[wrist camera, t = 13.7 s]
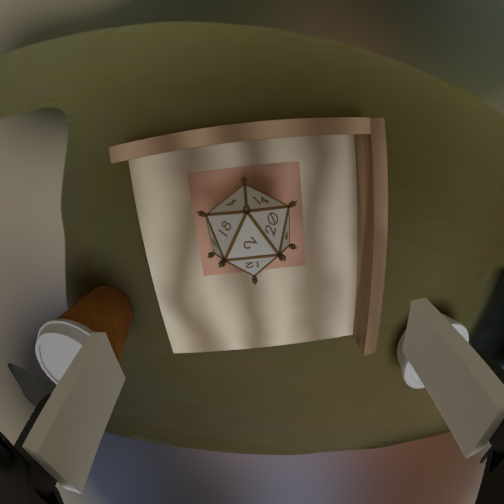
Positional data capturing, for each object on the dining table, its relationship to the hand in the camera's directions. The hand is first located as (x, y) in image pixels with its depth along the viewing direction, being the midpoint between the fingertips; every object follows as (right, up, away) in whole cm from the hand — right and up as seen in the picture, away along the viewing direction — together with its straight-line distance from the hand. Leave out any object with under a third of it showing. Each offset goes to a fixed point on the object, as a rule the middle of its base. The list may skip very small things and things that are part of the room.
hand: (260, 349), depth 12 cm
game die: (-1, +7, +19) cm, 20 cm away
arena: (0, +4, +20) cm, 21 cm away
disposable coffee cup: (-18, -3, +23) cm, 29 cm away
